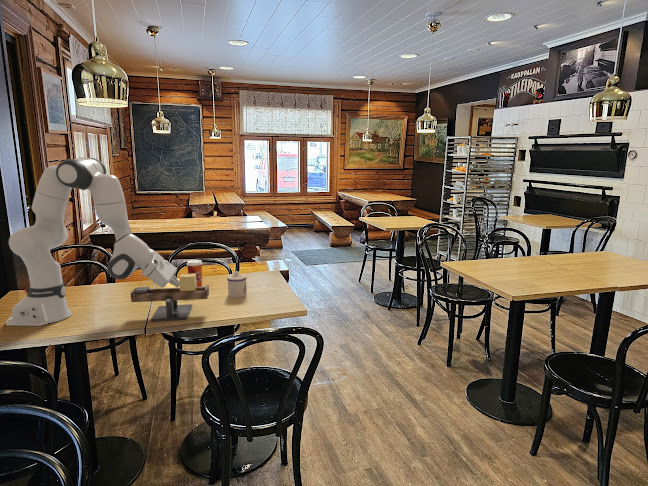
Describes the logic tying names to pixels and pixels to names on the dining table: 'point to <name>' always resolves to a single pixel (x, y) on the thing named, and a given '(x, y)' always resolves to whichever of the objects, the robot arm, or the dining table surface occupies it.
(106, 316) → the dining table surface
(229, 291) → the teacup with lid
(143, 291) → the counterweight
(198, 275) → the paper cup
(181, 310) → the stand
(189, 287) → the rider
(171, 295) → the beam
